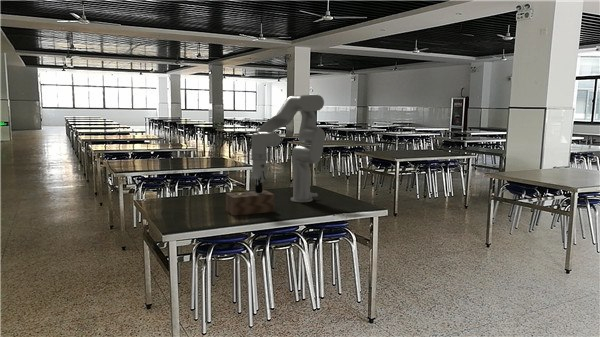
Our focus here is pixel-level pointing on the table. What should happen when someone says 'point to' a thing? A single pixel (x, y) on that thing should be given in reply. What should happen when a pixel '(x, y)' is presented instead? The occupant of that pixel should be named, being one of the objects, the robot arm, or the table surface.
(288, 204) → the table surface
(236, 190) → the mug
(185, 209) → the table surface
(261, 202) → the walnut block
